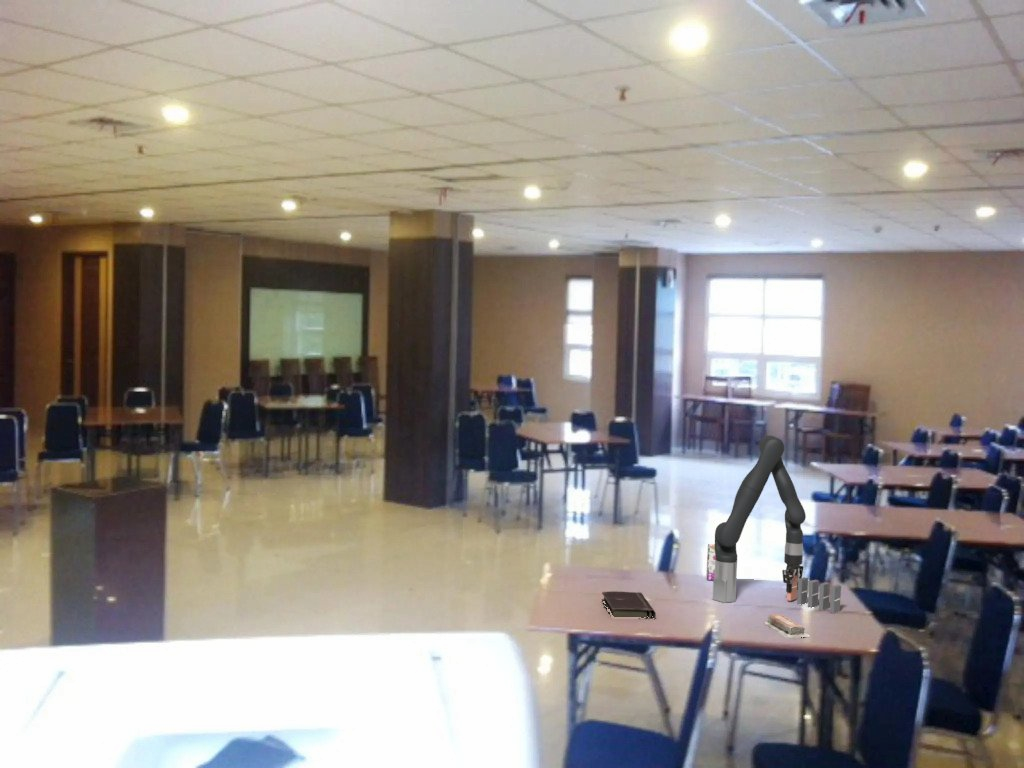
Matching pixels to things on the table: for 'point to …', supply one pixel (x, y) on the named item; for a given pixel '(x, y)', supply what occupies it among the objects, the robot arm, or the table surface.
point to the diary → (628, 604)
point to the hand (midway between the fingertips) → (792, 591)
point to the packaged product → (785, 626)
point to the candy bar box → (711, 562)
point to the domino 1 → (793, 589)
